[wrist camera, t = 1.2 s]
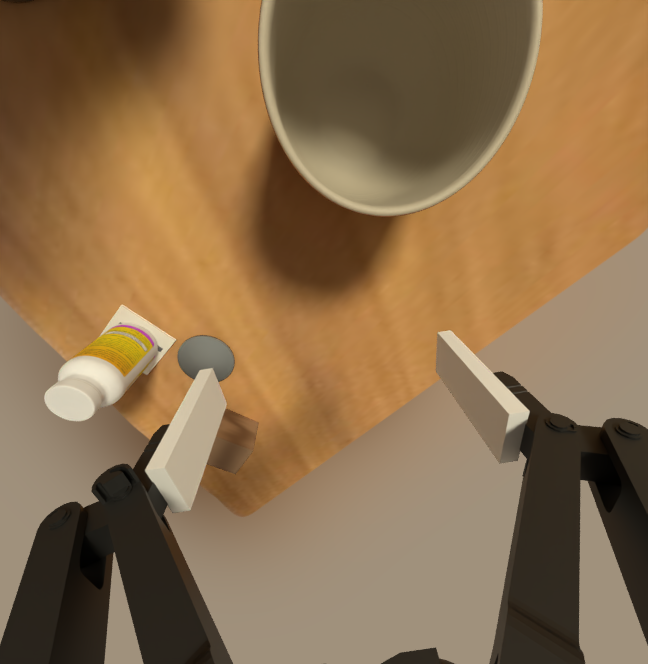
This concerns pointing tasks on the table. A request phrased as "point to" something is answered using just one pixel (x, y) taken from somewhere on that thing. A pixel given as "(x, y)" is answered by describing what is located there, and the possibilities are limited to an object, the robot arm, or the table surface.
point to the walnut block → (233, 442)
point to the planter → (395, 93)
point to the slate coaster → (206, 356)
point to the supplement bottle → (101, 372)
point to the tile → (161, 337)
